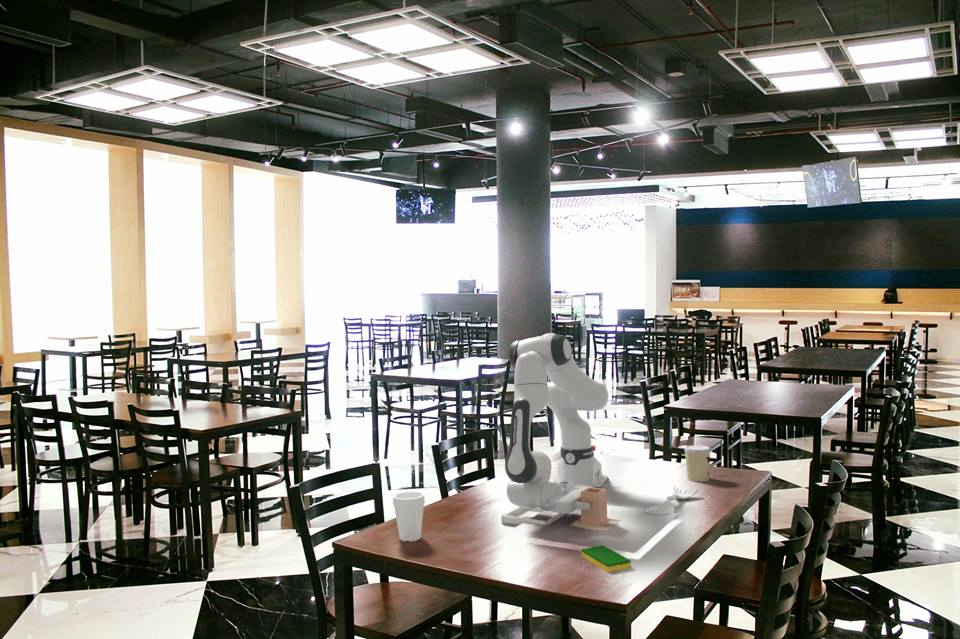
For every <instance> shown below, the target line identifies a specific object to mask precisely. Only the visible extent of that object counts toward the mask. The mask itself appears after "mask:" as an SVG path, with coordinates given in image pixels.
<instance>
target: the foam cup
mask: <svg viewBox="0 0 960 639" xmlns="http://www.w3.org/2000/svg"><path fill="white" fill-rule="evenodd" d="M392 504H393V506H394V514H395V518H396V524H397V530H398V536H399V541H401V540H402V542H406V541H409V542H416V541H419V540H421V537H422V529H423V528H422V527H423V518H424V517H423V516H424V505H425V493H424V492H421V491H416V490H413V491H411V490H408V491H401V492H397V493H394V494H393V495H392Z"/></svg>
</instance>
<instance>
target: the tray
mask: <svg viewBox="0 0 960 639" xmlns="http://www.w3.org/2000/svg"><path fill="white" fill-rule="evenodd" d="M544 511H545V510H542V509H539V508H537V509H529V508H523V507H519V506H516V508H513V509H512V510H509V511H508V512H506V513H504V514H502V515H501V525H508V526H515V527H516V526H517V527H518V526H520V525H522V524H524V523H527V524H528V523H529V524H535V525H541V526H542V525H543V526H549V525H551V524H552V523H553V522H555V521H557V520H559V519H560V518H562V517H563V516H565V515H566V514H562V513H557V514H555V515H553V516H552V517H550V518H549V519H547V520H540V519H536V518H535V519H534V517H536V516H538V515H539V514H541V513H542V512H544ZM532 518H533V519H532Z"/></svg>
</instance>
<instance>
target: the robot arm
mask: <svg viewBox="0 0 960 639" xmlns="http://www.w3.org/2000/svg"><path fill="white" fill-rule="evenodd" d="M507 355H508V361H509V363H510V365H511V366H512V367H513V368H514V375H513V376H514V378H513V379H514V380H513V381H514V382H513V385H514V386H513V387H514V393H513V394H514V397H513V405H512V409H511V415H510V430H509V431H510V432H509V445H508V446H509V447H508V451H507V454H506V457H505V461H504V469H505V470H504V471H505V474H506V475H507V477H508V478H509V479H510V481H509V482H508V483H507V486H506V495H507V498H508V500H509V502H510V503H511V504H512V505H514V506H516V507H523V508H529V509H537V508H539V509H542V510H544V511H547V512H553V513H557V514H558V513H562V514H565V515H568V514H569V515H570V514H571V513H572V512H574V511H577V510H578V511H579V510H580V511H581V509H590V508H591V503H590V502H581V495H580V492H581V491H583V490H584V489H586V488H588V487H591V488H602V487H603V486H604V485H605V483H606V482H607V480H608V479H609V475H607V474H603V470H602V463H601V462H600V461H599V460H598V459H597V458H596V457H595V453H594V451H596V450H597V447H596V445H592V428H591V425H590V424H589V423H588V422H587V421H586V420H584V419H583V418H582V417H581V416H580V414H579V413H578V411H585V412H593V411H598V410H602V409H604V408H605V406H606V405H607V404H608V400H609V392H608V389H607V387H606V385H605V384H603V383H601V382H599V381H597V380H595V379H593V378H591V377H590V376H589V375H587V373H585V372H584V371H583V370H582V369H581V368H580V367H579V366H578V364H577V362H576V361H575V358H574V357H573V355H572V346H571V342H570V340H569V339H568V338H567V337H566V336H565V335H562V334H556V333H555V332H548V333H545V334H543V335H537V336H534V337H529V338H525V339H517V340H515V341H513V342H512V343H511V344H510V346H509V348H508V354H507ZM548 379H549V380H548ZM546 406H547V407H548V408H549V409H551V411H552V412H553V414H554V415H555V417H556V419H557V421H558V424H559V428H560V440H561V446H560V459H558V461H557V474H556V475H557V476H556V477H557V478H555V479H554V482H551V481H550V478H551V473H552V461H551V459H550V458H549V456H548V455H547V454H546V453H544V452H542V451H534V450H531V446H530V442H531V425H532V421H533V419H534V417H535V416H537V414H539V413H540V412H542V411H543V410H544V409H545V408H546ZM607 478H608V479H607ZM605 481H606V482H605ZM604 482H605V483H604Z"/></svg>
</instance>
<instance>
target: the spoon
mask: <svg viewBox="0 0 960 639" xmlns="http://www.w3.org/2000/svg"><path fill="white" fill-rule="evenodd" d="M682 491H683V488H681V489H679V487H677V488H676V486H675V485H674V486H673V487H672V490H671V496H667V497H666V500H665V501H664V502H661V503H658V504H656V505H653V506H650V507H648V508H646V509H645V510H644V512H645V513H646V514H648V515H649V514H650V515H654V516H666V515H670V514H671V515H672V514H674V513H675V512H676V509H675V507H674V506H673V504H672V503H671V501H675V500H687V499H689V498H692V497H693V496H695V494H697V493H699V488H696V489H692V490H691V489H689V491H688V492H687V489H684V491H683V492H682ZM654 511H655V512H654Z"/></svg>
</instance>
